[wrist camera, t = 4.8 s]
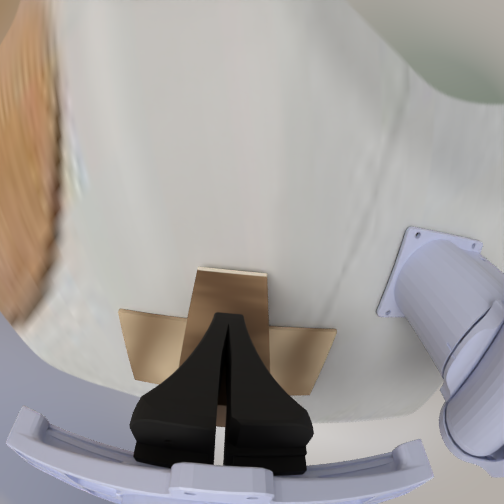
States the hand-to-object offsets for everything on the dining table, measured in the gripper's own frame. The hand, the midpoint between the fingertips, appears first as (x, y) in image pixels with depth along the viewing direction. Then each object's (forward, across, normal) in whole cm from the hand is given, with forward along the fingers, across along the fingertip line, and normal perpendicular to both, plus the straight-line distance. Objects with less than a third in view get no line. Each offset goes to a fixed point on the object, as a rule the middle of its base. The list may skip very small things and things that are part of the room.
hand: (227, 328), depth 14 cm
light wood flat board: (+6, 0, +10) cm, 12 cm away
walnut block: (+6, 0, +2) cm, 6 cm away
